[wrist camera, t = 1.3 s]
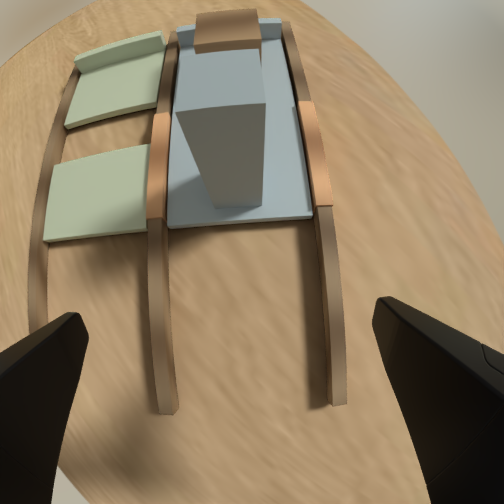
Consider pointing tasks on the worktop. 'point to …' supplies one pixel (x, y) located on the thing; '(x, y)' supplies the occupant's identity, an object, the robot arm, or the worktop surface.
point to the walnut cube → (227, 31)
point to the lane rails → (159, 228)
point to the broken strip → (113, 162)
